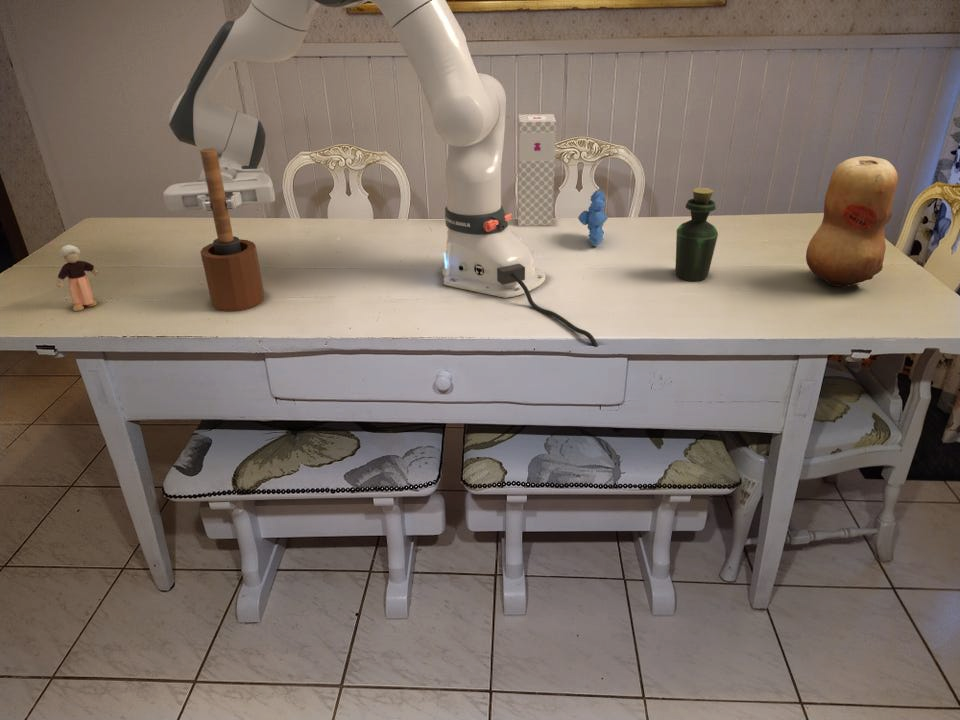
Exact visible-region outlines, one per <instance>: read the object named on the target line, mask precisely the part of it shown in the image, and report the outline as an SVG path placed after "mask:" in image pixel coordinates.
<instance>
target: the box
mask: <svg viewBox="0 0 960 720" xmlns="http://www.w3.org/2000/svg"><path fill="white" fill-rule="evenodd" d="M517 117H518V119H517V128H518V129H517V209H516V210H517V211H516V212H517V224H518V227H527V226H530V227H531V226H533V227H535V226H540V227H541V226H554V225H553V224H554V199H555V198H554V197H555V196H554V195H555V172H556V171H555V168H556V140H557V139H556V137H557V120H556V118H555V114H554V113H539V114H538V113H537V114H533V113H532V114H530V113H529V114H518V115H517Z"/></svg>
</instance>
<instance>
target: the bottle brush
mask: <svg viewBox="0 0 960 720" xmlns="http://www.w3.org/2000/svg"><path fill="white" fill-rule="evenodd" d="M200 158H201V163H202V166H203V168H204V173H205V178H206V183H207V188H208V193H209V198H210V202H211V207H212V211H211V212H212V217H213V222H214V227H215V231H216V236H217V238H215V239H214V240H213V241H212V243H213V245H214V250H215V255H220V256H221V255H231V254H237V253H240V252H241V246H240V241H239V239H240V238H239V237H238V236H234V234H233V229H232V223H231V218H230V213H229V209H227V204H226V197H225V192H224V186H223V181H222V176H221V171H220V166H219V160H218V155H217V150H216V149H213V148H209V149H204V148H202V149H201V150H200Z"/></svg>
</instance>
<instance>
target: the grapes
mask: <svg viewBox="0 0 960 720" xmlns="http://www.w3.org/2000/svg"><path fill="white" fill-rule="evenodd" d="M605 201H606V195H605V194H604V193H603V191H601V190H600V189H597V190H595V191H593V193H592V194H591V196H590V202H591V203H590V205H589V207H588V209H587V210H583V211H582V212H581V213H580V214H579V215H578V217H577V219H578V220H579V222H580V223H581V224H582V225H583V226H587V229H588V231H589V232H588V233H589V234H588V240H589V242H590V244H591V245H593V246H594V247H597V246H599V245H600V244H601V243H602V242H603V241H604V238H603V237H604V233H605V231H604V230H603V226H604V224H605V223H606V221H607V220H608V216H607V214H605V210H604V208H605V207H606V203H605Z"/></svg>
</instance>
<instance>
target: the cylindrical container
mask: <svg viewBox="0 0 960 720" xmlns="http://www.w3.org/2000/svg"><path fill="white" fill-rule="evenodd" d="M239 241H240V246H241V252H240V253H237V254H231V255H221V256H220V255H215V250H214V245H213V242H212V243H209V244H206V245H205V246H203V247H202V248H201V250H200V257H201V262H202V265H203V266H202V267H203V270H204V274H205V275H204V276H205V279H206V284H207V289H208V294H209V297H210V302H211V305H212V307H213V308H214V309H215V310H218V311H221V312H240V311H244V310H245V311H246V310H248V309H252V308H254V307H256V306H259V305H260V304H262V303H263V302H264V300H265V291H264V286H263V279H262V274H261V273H262V272H261V269H260V268H261V267H260V263H259V256H258V251H257V246H256V244H255V242H253V241H251V240H248V239H241V238H239Z"/></svg>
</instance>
